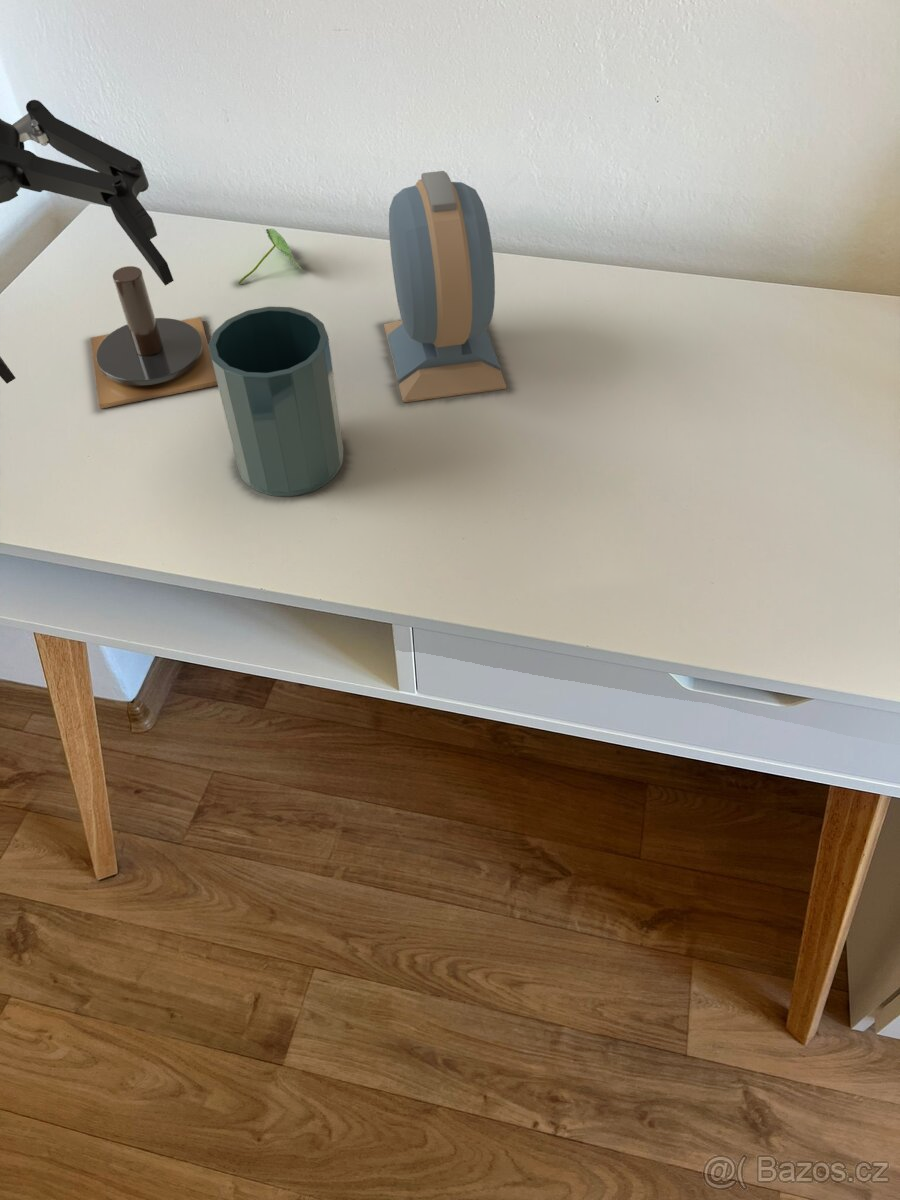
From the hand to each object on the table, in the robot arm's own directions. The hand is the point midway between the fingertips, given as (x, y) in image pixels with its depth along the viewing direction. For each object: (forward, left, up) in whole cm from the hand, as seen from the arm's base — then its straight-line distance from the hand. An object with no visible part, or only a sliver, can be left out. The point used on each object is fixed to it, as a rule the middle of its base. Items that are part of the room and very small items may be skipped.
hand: (87, 323), depth 73 cm
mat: (+3, +18, -17) cm, 25 cm away
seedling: (+17, +31, -17) cm, 39 cm away
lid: (+3, +18, -16) cm, 24 cm away
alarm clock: (+30, +10, -17) cm, 36 cm away
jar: (+13, 0, -17) cm, 21 cm away
